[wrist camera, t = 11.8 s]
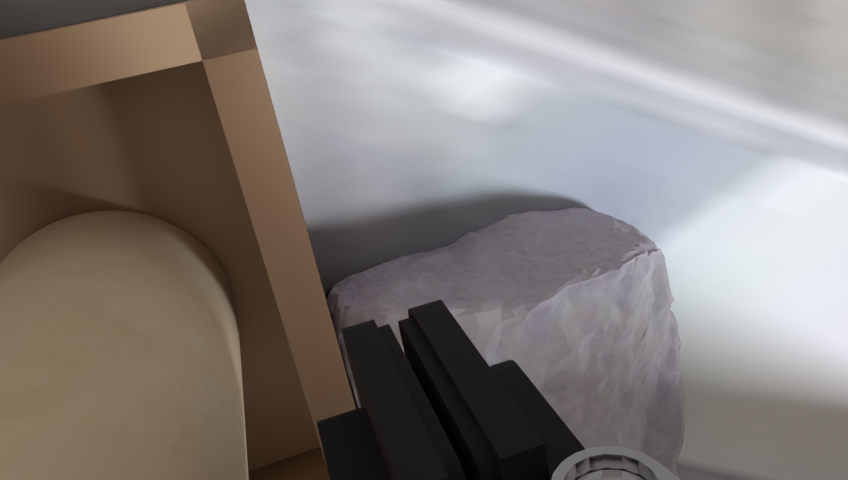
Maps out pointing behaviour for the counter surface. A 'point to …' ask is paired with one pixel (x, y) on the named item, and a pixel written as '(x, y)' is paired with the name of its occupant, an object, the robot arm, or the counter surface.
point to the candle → (118, 355)
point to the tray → (183, 188)
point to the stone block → (550, 318)
